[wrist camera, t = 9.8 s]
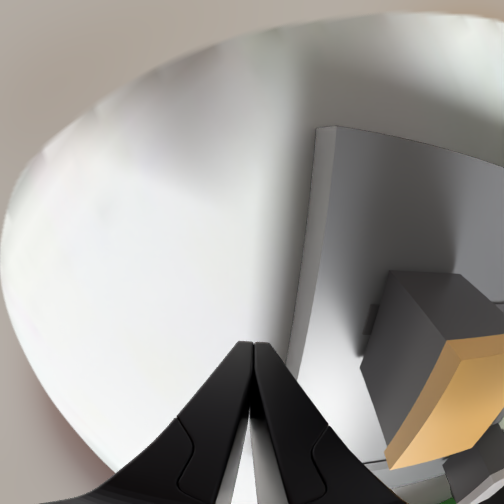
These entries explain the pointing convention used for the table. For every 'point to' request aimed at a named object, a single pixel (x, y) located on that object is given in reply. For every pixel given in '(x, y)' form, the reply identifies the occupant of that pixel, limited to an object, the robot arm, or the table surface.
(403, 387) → the switch
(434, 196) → the panel
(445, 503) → the hardback book
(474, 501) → the on switch
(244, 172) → the table surface
